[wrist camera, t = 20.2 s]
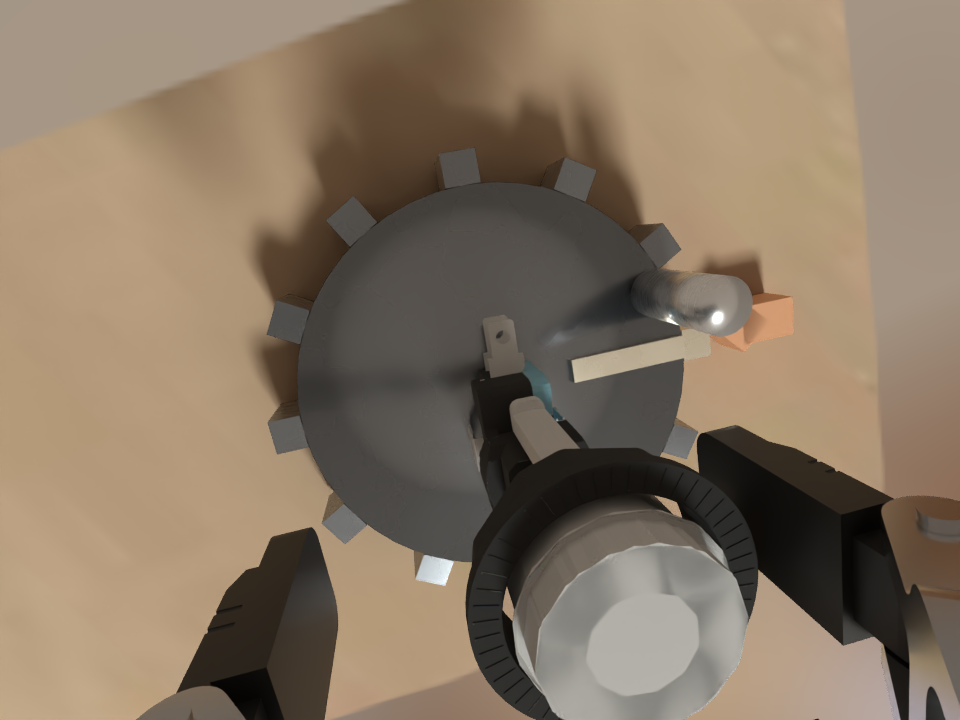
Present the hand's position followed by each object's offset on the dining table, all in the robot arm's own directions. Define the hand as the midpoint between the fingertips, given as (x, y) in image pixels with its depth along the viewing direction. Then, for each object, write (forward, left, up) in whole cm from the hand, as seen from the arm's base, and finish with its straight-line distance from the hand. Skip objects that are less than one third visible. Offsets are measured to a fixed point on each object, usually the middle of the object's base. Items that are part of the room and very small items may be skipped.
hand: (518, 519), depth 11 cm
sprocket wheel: (+1, +1, -9) cm, 9 cm away
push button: (+1, 0, -7) cm, 7 cm away
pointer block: (+11, +1, -9) cm, 15 cm away
